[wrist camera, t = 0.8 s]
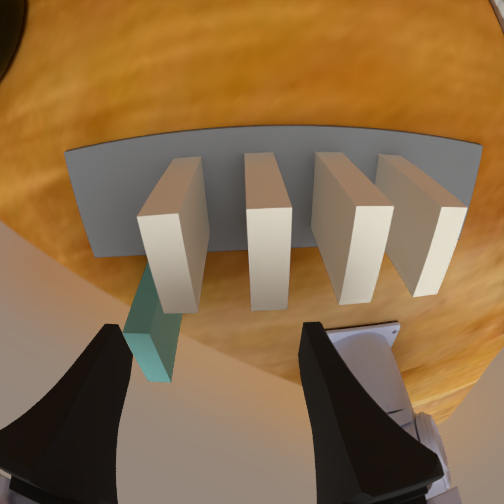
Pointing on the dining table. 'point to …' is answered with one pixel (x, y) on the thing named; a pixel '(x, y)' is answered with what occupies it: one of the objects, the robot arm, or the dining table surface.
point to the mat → (243, 175)
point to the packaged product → (499, 11)
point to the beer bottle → (9, 29)
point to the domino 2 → (152, 331)
